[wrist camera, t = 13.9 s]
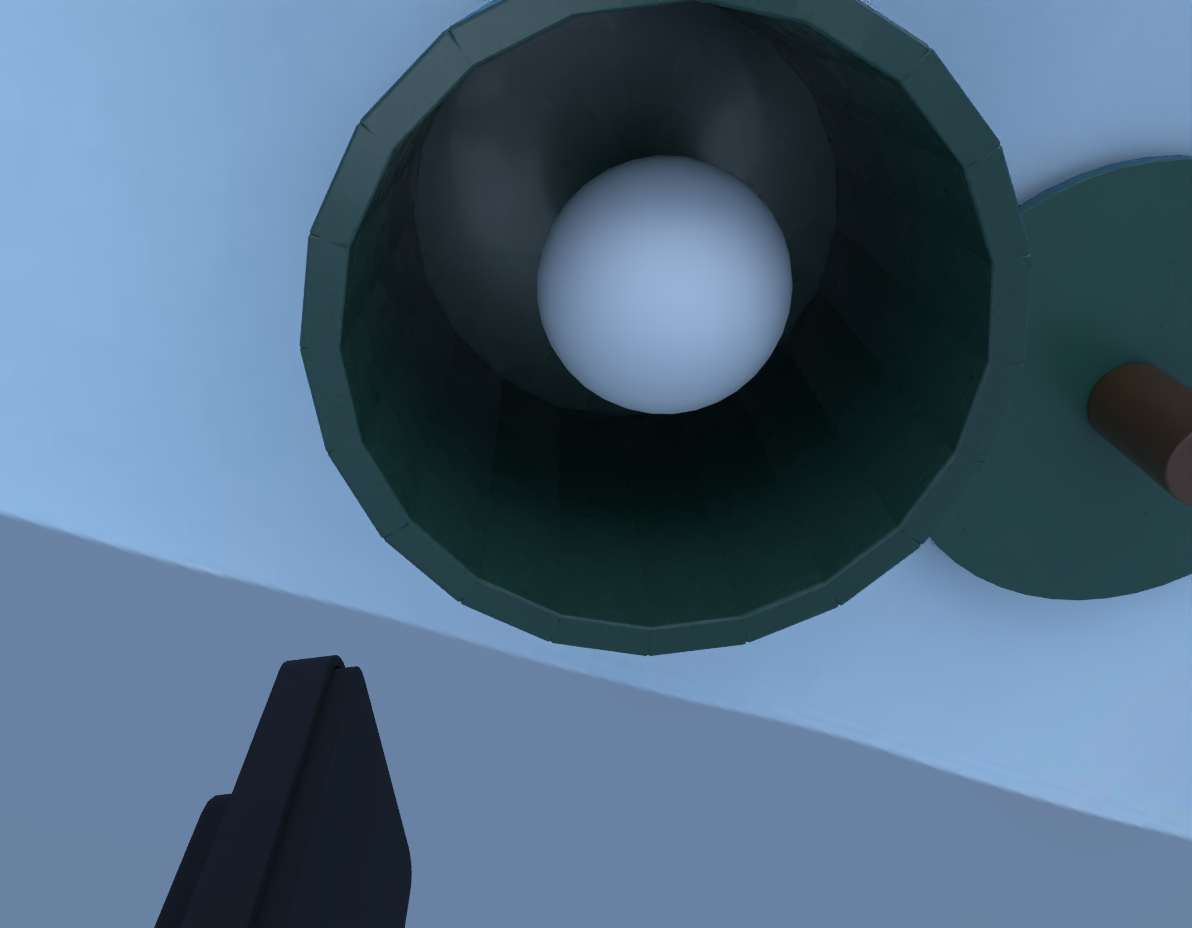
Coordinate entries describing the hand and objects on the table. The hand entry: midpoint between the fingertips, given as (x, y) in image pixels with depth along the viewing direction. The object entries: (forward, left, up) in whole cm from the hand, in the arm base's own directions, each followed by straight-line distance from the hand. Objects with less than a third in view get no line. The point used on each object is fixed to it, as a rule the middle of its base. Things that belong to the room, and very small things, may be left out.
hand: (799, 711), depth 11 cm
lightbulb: (0, 0, -24) cm, 24 cm away
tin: (0, 0, -24) cm, 24 cm away
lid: (-16, +8, -23) cm, 29 cm away
